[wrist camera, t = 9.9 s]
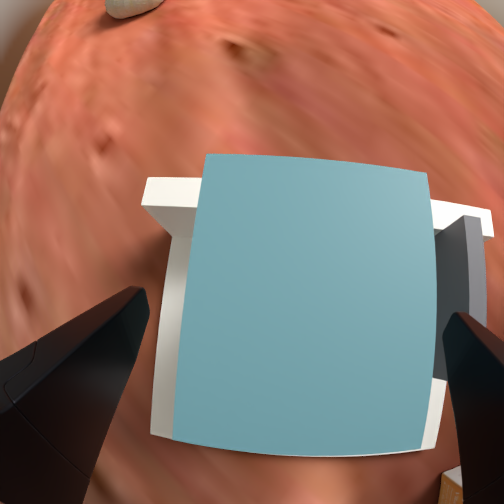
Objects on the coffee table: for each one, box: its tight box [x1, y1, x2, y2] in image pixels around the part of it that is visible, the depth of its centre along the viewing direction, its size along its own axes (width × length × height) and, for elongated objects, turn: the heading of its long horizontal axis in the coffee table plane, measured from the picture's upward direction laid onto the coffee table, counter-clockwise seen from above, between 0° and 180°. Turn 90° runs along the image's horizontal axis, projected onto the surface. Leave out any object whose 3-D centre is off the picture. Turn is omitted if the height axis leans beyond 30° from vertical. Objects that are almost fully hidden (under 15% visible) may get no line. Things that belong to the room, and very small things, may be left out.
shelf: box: [141, 177, 494, 457], centre depth 14 cm, size 14×18×8 cm
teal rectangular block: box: [172, 154, 437, 456], centre depth 11 cm, size 6×5×12 cm
